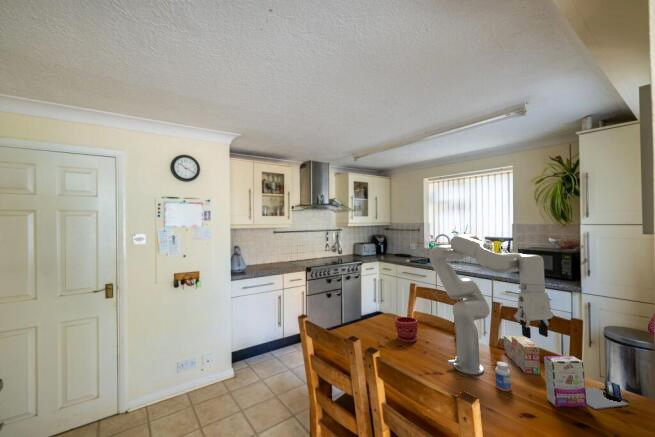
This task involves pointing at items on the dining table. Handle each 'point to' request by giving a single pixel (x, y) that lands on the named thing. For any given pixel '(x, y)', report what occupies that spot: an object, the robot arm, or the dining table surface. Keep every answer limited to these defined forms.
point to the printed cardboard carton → (523, 353)
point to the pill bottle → (503, 376)
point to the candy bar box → (565, 381)
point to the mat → (600, 399)
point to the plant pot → (406, 329)
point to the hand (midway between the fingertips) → (534, 335)
